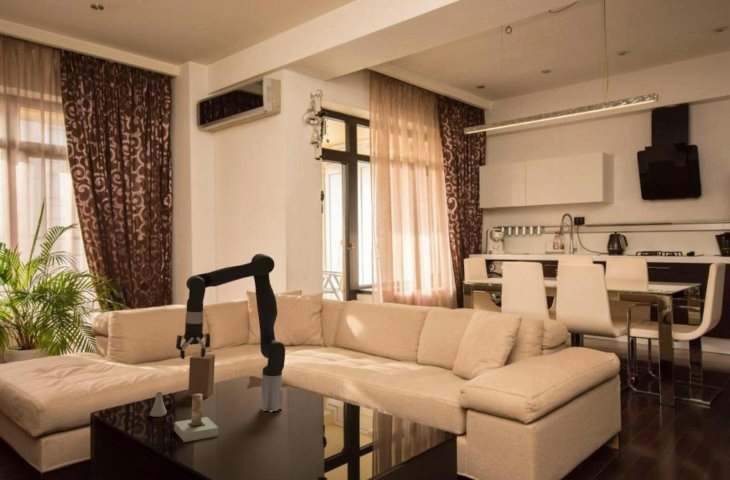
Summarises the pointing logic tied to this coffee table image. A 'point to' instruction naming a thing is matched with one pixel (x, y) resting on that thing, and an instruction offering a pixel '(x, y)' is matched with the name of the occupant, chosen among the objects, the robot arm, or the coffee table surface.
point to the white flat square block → (196, 430)
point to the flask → (158, 406)
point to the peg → (196, 410)
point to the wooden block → (201, 375)
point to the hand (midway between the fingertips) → (192, 357)
